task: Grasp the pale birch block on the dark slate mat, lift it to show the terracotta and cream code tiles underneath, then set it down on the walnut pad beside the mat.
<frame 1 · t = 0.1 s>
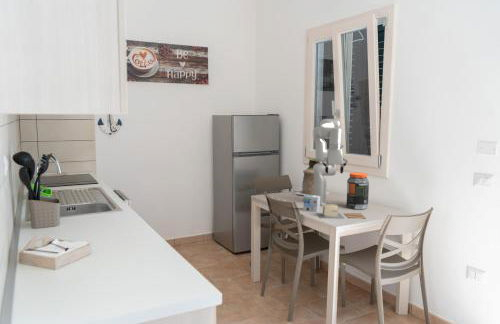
hand: (334, 173, 255), 31 cm above the table, tool pointing down, fingers open, 9 cm apart
birch block: (330, 215, 266), resting on code mat
code mat: (330, 216, 266), on the table
light bulb box: (311, 210, 282), on the table
burlap sack: (312, 194, 339), on the table
supplement tub: (356, 207, 292), on the table
walnut pad: (354, 216, 266), on the table
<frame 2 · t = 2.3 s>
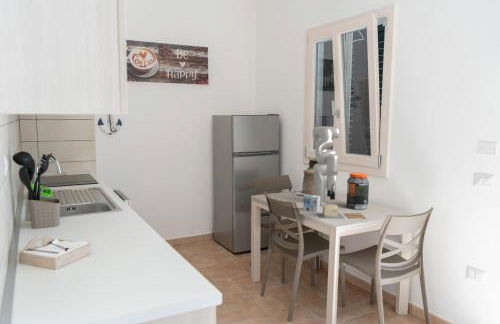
hand: (330, 198, 264), 13 cm above the table, tool pointing down, fingers open, 9 cm apart
nothing on the table moved.
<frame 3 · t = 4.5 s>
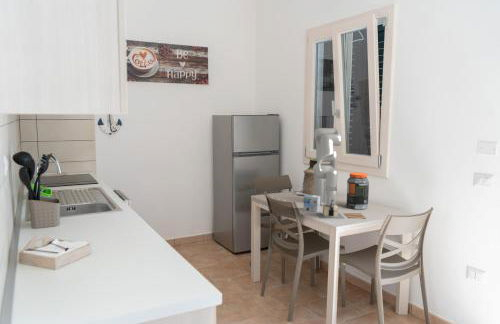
hand: (330, 214, 266), 1 cm above the table, tool pointing down, fingers closed on birch block, 6 cm apart
birch block: (330, 215, 266), resting on code mat, touching gripper
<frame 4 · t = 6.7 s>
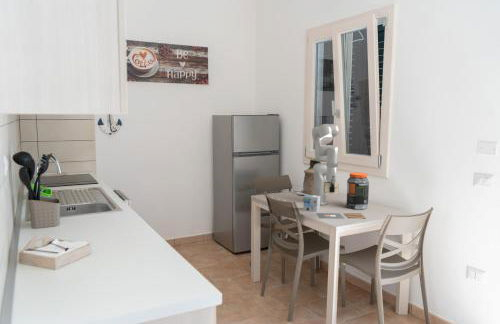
hand: (330, 191, 264), 17 cm above the table, tool pointing down, fingers closed on birch block, 6 cm apart
birch block: (330, 192, 265), point 16 cm above the table, touching gripper
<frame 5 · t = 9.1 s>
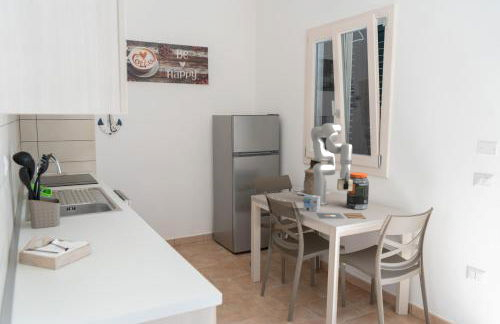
hand: (344, 188, 264), 20 cm above the table, tool pointing down, fingers closed on birch block, 6 cm apart
birch block: (344, 189, 264), point 18 cm above the table, touching gripper
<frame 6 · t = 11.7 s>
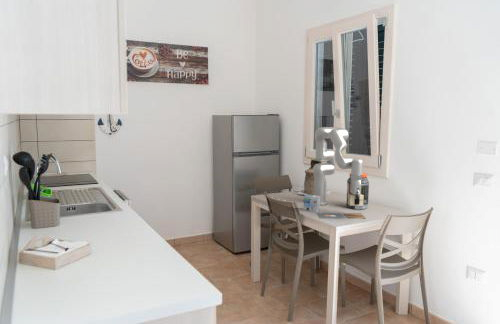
hand: (355, 203, 265), 9 cm above the table, tool pointing down, fingers closed on birch block, 6 cm apart
birch block: (355, 204, 265), point 8 cm above the table, touching gripper
when the fingers open (3 cm above the table, at t = 13.9 s): birch block stays where it is, resting on walnut pad.
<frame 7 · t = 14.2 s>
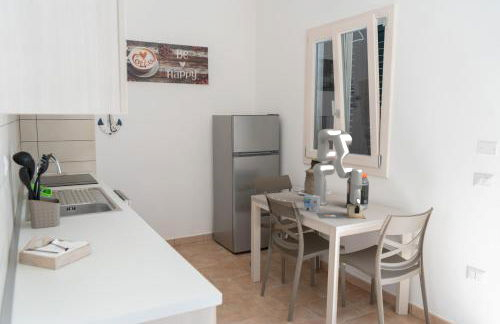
hand: (354, 211, 266), 3 cm above the table, tool pointing down, fingers open, 9 cm apart
birch block: (354, 215, 266), point 1 cm above the table, touching walnut pad
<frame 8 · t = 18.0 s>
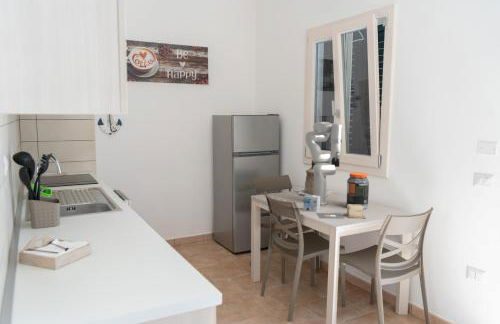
hand: (335, 165, 274), 33 cm above the table, tool pointing down, fingers open, 9 cm apart
at the end: birch block inside the target area (0.1 cm from its centre), point 0.6 cm above the table; birch block tilted 0°; the gripper is holding nothing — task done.
